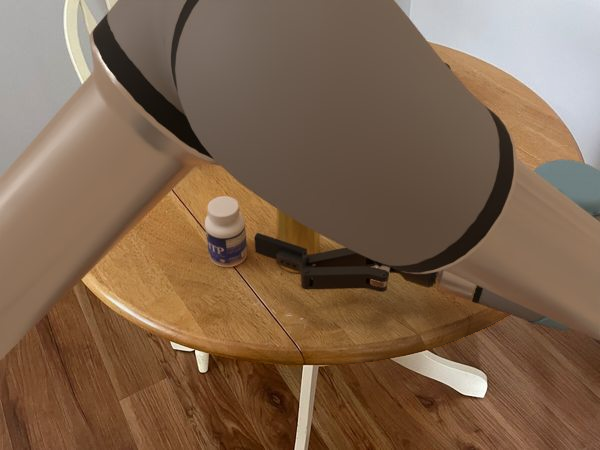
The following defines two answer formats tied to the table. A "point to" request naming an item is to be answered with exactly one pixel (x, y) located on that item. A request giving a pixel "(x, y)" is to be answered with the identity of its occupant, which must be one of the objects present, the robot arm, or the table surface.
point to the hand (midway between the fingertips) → (280, 208)
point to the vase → (296, 235)
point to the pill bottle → (225, 232)
